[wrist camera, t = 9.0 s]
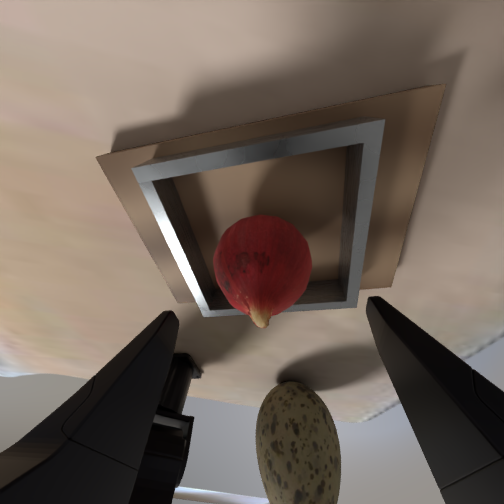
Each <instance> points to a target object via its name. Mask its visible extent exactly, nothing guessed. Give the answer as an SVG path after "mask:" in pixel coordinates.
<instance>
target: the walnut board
mask: <svg viewBox="0 0 504 504" xmlns="http://www.w3.org/2000/svg"><path fill="white" fill-rule="evenodd" d="M445 87H446V84H439V85H430V86H424V87H419V88H415V89H410V90H405V91H400V92H396V93H391V94H386V95H381V96H377V97H372V98H367V99H362V100H358V101H353V102H348V103H343V104H339V105H334V106H329V107H324V108H320V109H315V110H310V111H305V112H301V113H296V114H291V115H287V116H282V117H277V118H272V119H268V120H263V121H258V122H253V123H249V124H244V125H239V126H234V127H230V128H225V129H220V130H215V131H211V132H206V133H201V134H196V135H192V136H187V137H182V138H177V139H173V140H168V141H163V142H158V143H154V144H149V145H144V146H139V147H135V148H130V149H125V150H120V151H116V152H111V153H107V154H104V155H101V156H98V157H96V159H97V161H98V163H99V164H100V166H101V168H102V170H103V172H104V173H105V175H106V177H107V179H108V180H109V182H110V184H111V186H112V188H113V189H114V191H115V193H116V195H117V196H118V198H119V200H120V202H121V203H122V205H123V207H124V209H125V211H126V212H127V214H128V216H129V218H130V219H131V221H132V223H133V225H134V226H135V228H136V230H137V232H138V234H139V235H140V237H141V239H142V241H143V242H144V244H145V246H146V248H147V250H148V251H149V253H150V255H151V257H152V258H153V260H154V262H155V264H156V265H157V267H158V269H159V271H160V273H161V274H162V276H163V278H164V280H165V281H166V283H167V285H168V287H169V289H170V290H171V292H172V294H173V296H174V297H175V299H176V301H177V303H188V302H196V300H195V298H194V296H193V294H192V292H191V290H190V288H189V286H188V284H187V282H186V280H185V278H184V276H183V274H182V272H181V269H180V267H179V265H178V263H177V261H176V259H175V257H174V255H173V253H172V251H171V249H170V247H169V245H168V243H167V241H166V239H165V237H164V235H163V233H162V231H161V229H160V226H159V224H158V222H157V220H156V218H155V216H154V214H153V212H152V210H151V208H150V206H149V204H148V202H147V200H146V198H145V196H144V194H143V192H142V190H141V188H140V185H139V183H138V181H137V179H136V177H135V175H134V173H133V171H132V169H131V168H133V167H135V166H137V165H139V164H141V163H144V162H146V161H148V160H150V159H152V158H157V157H162V156H167V155H172V154H177V153H182V152H187V151H192V150H197V149H202V148H207V147H212V146H217V145H222V144H227V143H232V142H237V141H242V140H247V139H252V138H258V137H263V136H268V135H273V134H278V133H283V132H288V131H293V130H298V129H303V128H308V127H313V126H318V125H323V124H328V123H333V122H338V121H343V120H348V119H353V118H358V117H363V116H366V117H373V118H381V119H385V125H384V131H383V138H382V144H381V151H380V157H379V164H378V171H377V177H376V184H375V190H374V197H373V203H372V210H371V217H370V223H369V230H368V236H367V243H366V249H365V256H364V262H363V269H362V276H361V282H360V289H374V288H387V287H391V286H392V283H393V279H394V275H395V272H396V268H397V264H398V260H399V257H400V253H401V249H402V246H403V242H404V238H405V235H406V231H407V227H408V224H409V220H410V216H411V212H412V209H413V205H414V201H415V198H416V194H417V190H418V187H419V183H420V179H421V176H422V172H423V168H424V164H425V161H426V157H427V153H428V150H429V146H430V142H431V139H432V135H433V131H434V128H435V124H436V120H437V116H438V113H439V109H440V105H441V102H442V98H443V94H444V91H445ZM346 151H347V146H342V147H336V148H331V149H325V150H320V151H314V152H309V153H303V154H298V155H292V156H286V157H281V158H275V159H270V160H264V161H259V162H253V163H248V164H242V165H236V166H231V167H225V168H220V169H214V170H209V171H203V172H197V173H192V174H186V175H181V176H175V177H172V178H173V181H174V183H175V186H176V188H177V191H178V193H179V196H180V199H181V201H182V204H183V206H184V209H185V211H186V214H187V217H188V219H189V222H190V224H191V227H192V229H193V232H194V234H195V237H196V240H197V242H198V245H199V247H200V250H201V252H202V255H203V258H204V260H205V263H206V265H207V268H208V270H209V273H210V275H211V278H212V281H213V283H214V286H215V288H216V289H221V288H220V286H219V285H218V283H217V280H216V275H215V271H214V264H213V258H214V254H215V250H216V248H217V246H218V243H219V241H220V239H221V237H222V235H223V233H224V232H225V231H226V229H227V228H229V227H230V226H232V225H233V224H235V223H236V222H237V221H239V220H240V219H242V218H246V217H251V216H255V215H268V216H276V217H279V218H281V219H283V220H285V221H287V222H289V223H291V224H293V225H294V226H295V227H296V228H297V230H298V231H299V232H300V233H301V234H302V235H303V237H304V238H305V239H306V241H307V242H308V245H309V249H310V254H311V258H312V270H311V274H310V277H309V281H320V280H332V279H338V269H339V254H340V240H341V225H342V210H343V195H344V181H345V166H346ZM360 289H359V290H360Z"/></svg>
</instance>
